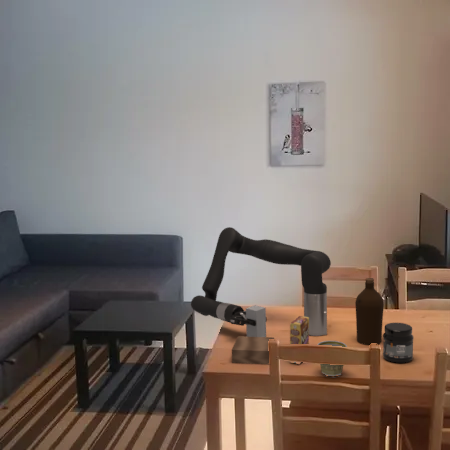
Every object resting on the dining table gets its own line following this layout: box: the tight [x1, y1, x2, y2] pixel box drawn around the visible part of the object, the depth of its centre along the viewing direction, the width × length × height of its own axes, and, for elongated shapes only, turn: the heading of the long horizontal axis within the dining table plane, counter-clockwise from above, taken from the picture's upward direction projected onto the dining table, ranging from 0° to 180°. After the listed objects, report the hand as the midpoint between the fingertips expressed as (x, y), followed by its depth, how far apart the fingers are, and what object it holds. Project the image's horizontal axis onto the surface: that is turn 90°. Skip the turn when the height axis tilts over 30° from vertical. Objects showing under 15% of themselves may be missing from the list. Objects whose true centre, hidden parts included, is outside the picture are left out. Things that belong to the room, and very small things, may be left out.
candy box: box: [289, 315, 310, 363], centre depth 220 cm, size 9×4×15 cm, turn 151°
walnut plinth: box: [231, 335, 275, 365], centre depth 226 cm, size 14×14×5 cm
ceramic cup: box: [316, 340, 348, 376], centre depth 207 cm, size 13×10×10 cm
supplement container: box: [382, 322, 414, 364], centre depth 219 cm, size 10×10×12 cm
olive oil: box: [354, 277, 385, 346], centre depth 236 cm, size 11×11×25 cm
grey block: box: [245, 304, 267, 337], centre depth 240 cm, size 6×6×12 cm
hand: (260, 321), depth 238 cm, fingers closed on grey block, 5 cm apart
